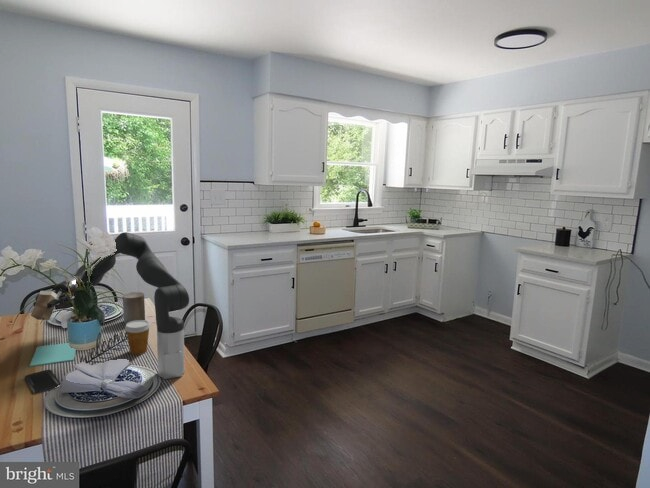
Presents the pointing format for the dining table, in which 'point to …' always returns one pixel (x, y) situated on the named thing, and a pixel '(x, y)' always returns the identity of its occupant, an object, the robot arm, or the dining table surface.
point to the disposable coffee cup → (137, 336)
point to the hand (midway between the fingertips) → (41, 305)
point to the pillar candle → (133, 307)
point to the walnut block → (43, 305)
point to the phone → (42, 381)
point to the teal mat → (53, 354)
